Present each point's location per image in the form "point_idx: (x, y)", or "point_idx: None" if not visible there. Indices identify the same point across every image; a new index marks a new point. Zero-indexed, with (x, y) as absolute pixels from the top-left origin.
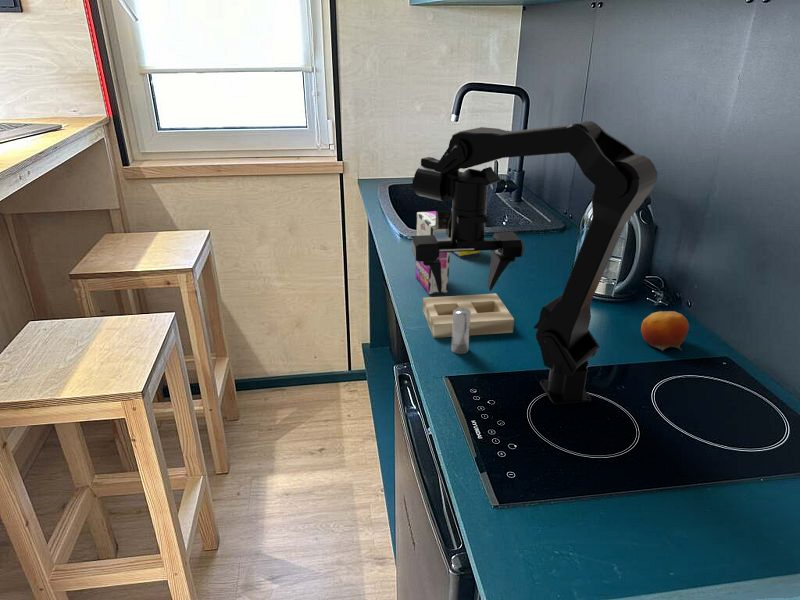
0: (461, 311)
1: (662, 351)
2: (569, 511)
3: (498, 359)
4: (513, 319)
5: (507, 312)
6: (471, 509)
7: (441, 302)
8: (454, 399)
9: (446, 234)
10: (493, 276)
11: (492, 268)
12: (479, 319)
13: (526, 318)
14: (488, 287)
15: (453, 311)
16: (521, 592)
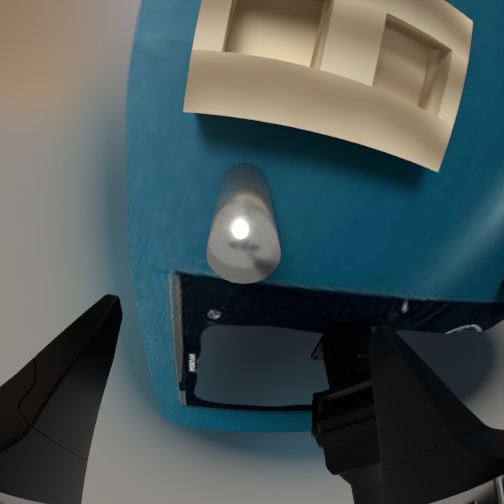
0: (242, 254)
1: (502, 288)
2: (234, 414)
3: (313, 248)
4: (436, 171)
5: (447, 130)
6: (164, 402)
7: None
8: (177, 322)
9: None
10: (378, 427)
11: (409, 436)
12: (355, 129)
13: (473, 117)
14: (377, 339)
15: (209, 246)
16: (181, 424)
